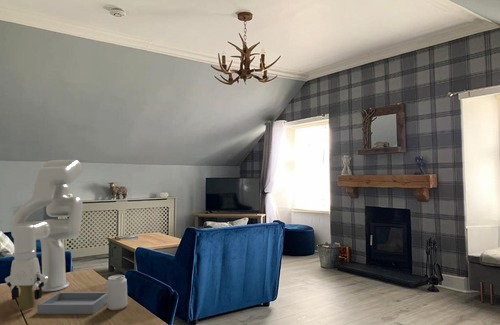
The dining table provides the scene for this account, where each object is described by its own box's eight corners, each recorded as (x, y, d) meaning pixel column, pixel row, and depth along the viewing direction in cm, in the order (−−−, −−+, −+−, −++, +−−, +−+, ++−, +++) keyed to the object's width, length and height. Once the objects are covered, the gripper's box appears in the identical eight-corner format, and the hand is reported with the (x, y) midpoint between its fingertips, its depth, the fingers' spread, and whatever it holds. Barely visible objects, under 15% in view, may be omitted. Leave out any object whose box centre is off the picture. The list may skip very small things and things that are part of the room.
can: (121, 311, 143) (120, 279, 143) (103, 310, 145) (102, 279, 145) (131, 304, 151) (130, 274, 151) (114, 303, 152) (113, 273, 152)
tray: (37, 313, 144) (37, 304, 144) (59, 300, 158) (59, 292, 158) (93, 313, 142) (92, 304, 142) (110, 300, 156) (110, 291, 156)
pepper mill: (17, 311, 148) (16, 282, 148) (18, 306, 153) (18, 278, 153) (35, 307, 150) (34, 280, 150) (36, 303, 156) (35, 276, 156)
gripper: (-2, 258, 149) (-1, 302, 149) (39, 257, 147) (41, 302, 147) (11, 253, 156) (13, 295, 156) (51, 253, 155) (53, 295, 155)
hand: (26, 298), depth 152 cm, fingers open, 9 cm apart
